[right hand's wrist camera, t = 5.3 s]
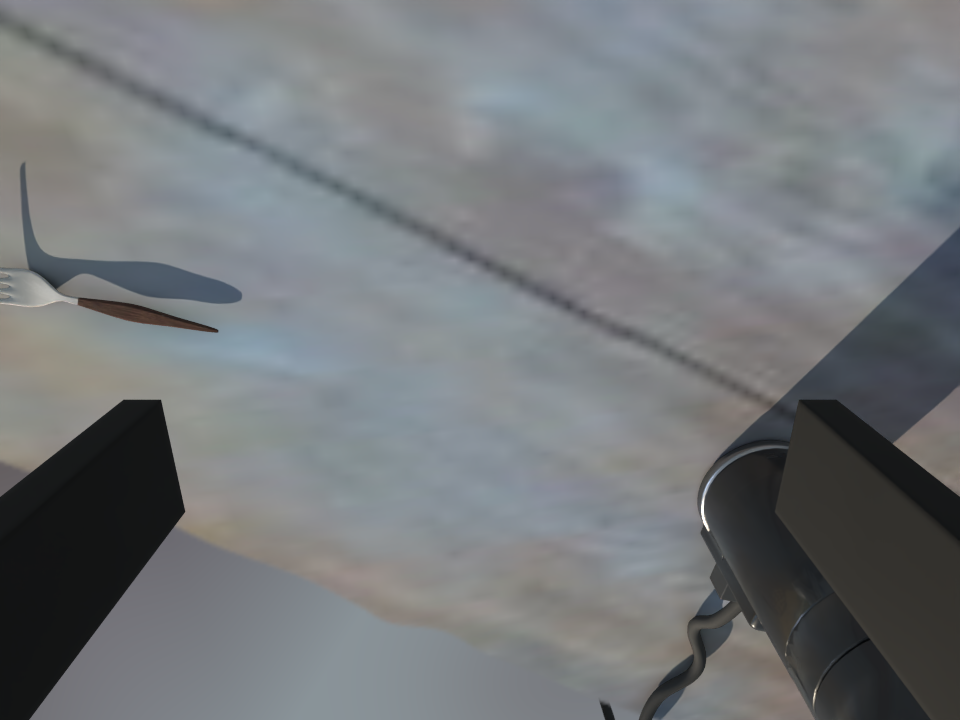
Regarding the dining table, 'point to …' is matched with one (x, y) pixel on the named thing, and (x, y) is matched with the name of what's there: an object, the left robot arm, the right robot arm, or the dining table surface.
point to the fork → (81, 301)
